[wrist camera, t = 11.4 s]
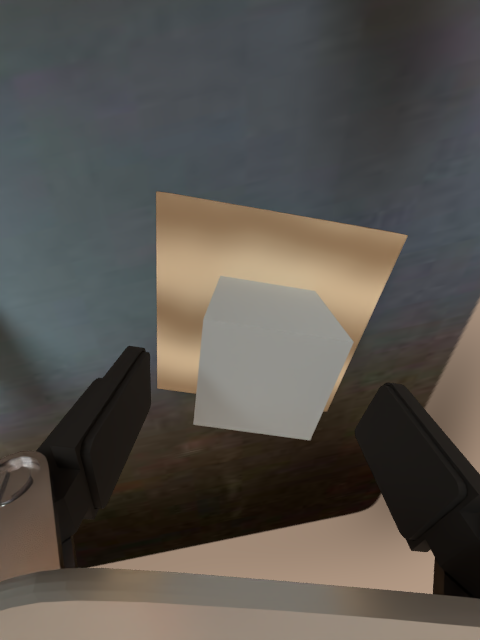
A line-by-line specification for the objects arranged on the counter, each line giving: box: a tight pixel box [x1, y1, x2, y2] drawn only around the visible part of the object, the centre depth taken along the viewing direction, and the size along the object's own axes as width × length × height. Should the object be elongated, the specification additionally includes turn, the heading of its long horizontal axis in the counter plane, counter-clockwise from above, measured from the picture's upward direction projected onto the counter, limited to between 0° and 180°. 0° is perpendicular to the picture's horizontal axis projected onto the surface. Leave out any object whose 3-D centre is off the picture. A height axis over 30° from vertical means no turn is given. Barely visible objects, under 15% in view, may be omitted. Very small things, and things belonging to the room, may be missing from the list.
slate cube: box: [193, 276, 354, 440], centre depth 13 cm, size 6×6×6 cm
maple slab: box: [156, 192, 408, 412], centre depth 17 cm, size 14×14×3 cm
